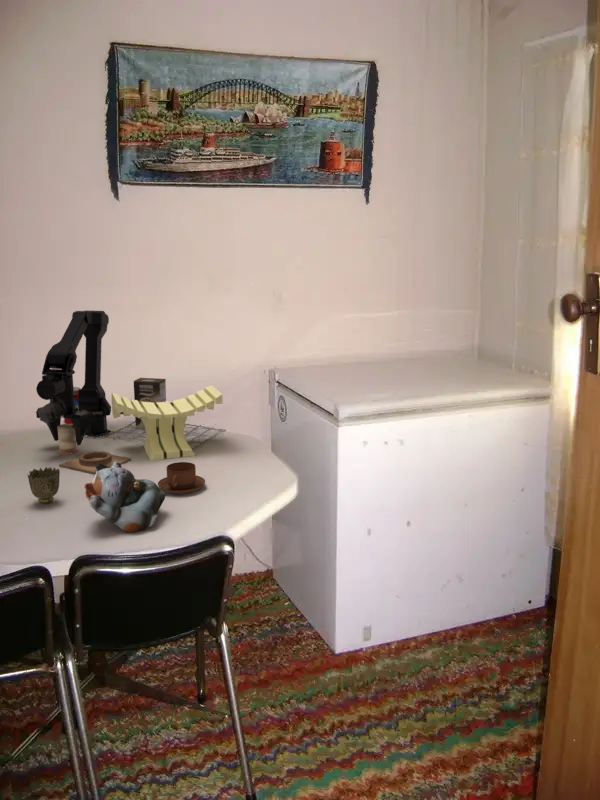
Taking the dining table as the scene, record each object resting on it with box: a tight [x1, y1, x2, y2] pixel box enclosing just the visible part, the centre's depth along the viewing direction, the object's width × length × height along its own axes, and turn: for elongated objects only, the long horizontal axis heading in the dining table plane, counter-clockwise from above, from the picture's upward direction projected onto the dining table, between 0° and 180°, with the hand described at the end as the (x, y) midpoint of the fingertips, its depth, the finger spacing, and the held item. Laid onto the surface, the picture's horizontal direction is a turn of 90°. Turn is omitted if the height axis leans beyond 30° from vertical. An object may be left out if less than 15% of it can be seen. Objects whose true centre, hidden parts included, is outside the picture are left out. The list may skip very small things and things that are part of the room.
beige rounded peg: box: [57, 423, 78, 455], centre depth 222 cm, size 5×5×8 cm
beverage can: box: [63, 386, 82, 424], centre depth 252 cm, size 7×7×12 cm
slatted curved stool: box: [111, 385, 224, 461], centre depth 222 cm, size 30×16×18 cm, turn 110°
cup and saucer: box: [157, 461, 206, 495], centre depth 192 cm, size 12×12×6 cm
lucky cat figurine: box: [84, 462, 167, 534], centre depth 170 cm, size 17×14×16 cm
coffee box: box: [133, 377, 167, 430], centre depth 248 cm, size 9×6×16 cm
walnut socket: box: [58, 450, 132, 475], centre depth 212 cm, size 14×14×2 cm
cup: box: [26, 466, 61, 505], centre depth 183 cm, size 8×7×8 cm
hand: (67, 442), depth 222 cm, fingers open, 9 cm apart
